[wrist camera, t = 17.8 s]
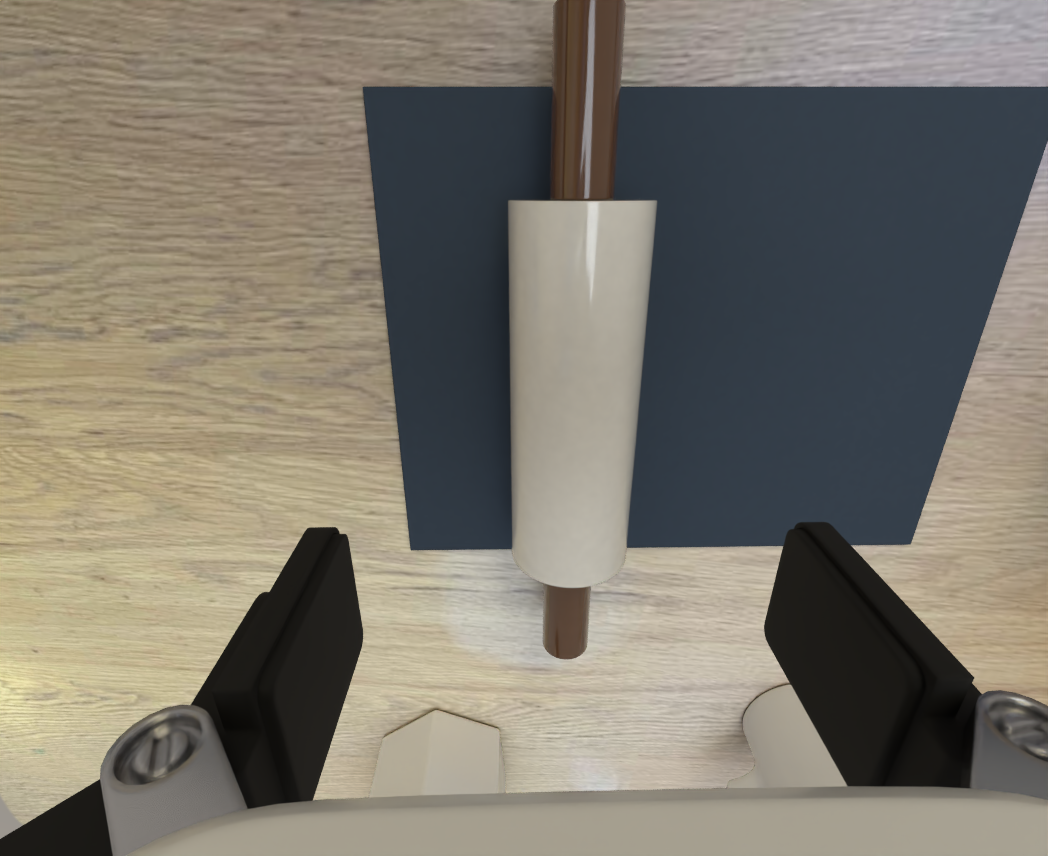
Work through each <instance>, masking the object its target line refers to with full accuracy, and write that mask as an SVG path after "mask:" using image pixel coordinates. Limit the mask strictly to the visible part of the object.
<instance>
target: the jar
mask: <svg viewBox="0 0 1048 856" xmlns="http://www.w3.org/2000/svg"><path fill="white" fill-rule="evenodd" d="M491 793H506V772H505V765H504V759H503V752H502V745H501V739H500V732H499V730H498V729H497V728H494V727H491V726H488V725H485V724H481V723H478V722H475V721H472V720H468V719H465V718H462V717H459V716H455V715H452V714H449V713H446V712H442V711H439V710H434V711H432V712H430V713H428V714H426V715H425V716H423V717H421V718H419V719H417V720H415V721H413V722H411V723H410V724H408V725H406V726H404V727H402V728H400V729H398V730H396V731H394V732H393V733H391V734H389V735H387V736H385V737H384V738H383V739H382V742H381V747H380V751H379V755H378V759H377V763H376V767H375V772H374V776H373V780H372V784H371V788H370V792H369V797H368V798H371V797H393V796H417V795H454V794H491Z"/></svg>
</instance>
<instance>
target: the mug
mask: <svg viewBox="0 0 1048 856" xmlns="http://www.w3.org/2000/svg"><path fill="white" fill-rule="evenodd" d="M743 731H744V734H745V736H746V739H747V742H748V744H749V747H750V749H751V752H752V754H753V757H754V760H755V766H754V768H753V769H752V770H751V771H750V772H749V773H748V774H746V775H744V776H742V777H740V778H736V779H732V780H730V781H729V782H728V784H727V788H776V787H842V786H847V785H846V783H845V781H844V779H843V777H842V776H841V774H840V772H839V770H838V768H837V767H836V765H835V763H834V761H833V759H832V758H831V756H830V754H829V752H828V750H827V749H826V747H825V745H824V743H823V741H822V740H821V738H820V736H819V734H818V732H817V731H816V729H815V727H814V725H813V723H812V722H811V720H810V718H809V716H808V714H807V713H806V711H805V709H804V707H803V705H802V704H801V702H800V700H799V698H798V696H797V695H796V693H795V691H794V689H793V687H792V686H791V685H785V686H781V687H777V688H774V689H772V690H770V691H768V692H766V693H764V694H762V695H761V696H759V697H758V698H757V699H755V700H754V701H753V702H752V703H751V704H750V706H749V707H748V708H747V710H746V712H745V714H744V717H743Z"/></svg>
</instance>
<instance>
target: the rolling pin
mask: <svg viewBox="0 0 1048 856" xmlns="http://www.w3.org/2000/svg"><path fill="white" fill-rule="evenodd" d="M625 7H626V4H625V1H624V0H557V1H556V2H555V3H554V5H553V41H552V102H551V163H550V199H515V200H508V281H509V361H510V441H511V521H512V555H513V559H514V561H515V563H516V564H517V566H518V567H519V568H520V569H521V570H522V571H523V572H524V573H525V574H526V575H528V576H530V577H531V578H533V579H535V580H537V581H539V582H542V583H544V591H543V645H544V647H545V649H546V651H547V652H548V653H549V654H551V655H552V656H554V657H556V658H560V659H573V658H576V657H578V656H580V655H581V654H583V652H584V651H585V650H586V648H587V641H588V624H589V608H590V591H591V586H594V585H597V584H600V583H603V582H605V581H607V580H609V579H611V578H612V577H614V576H615V575H616V574H617V573H618V572H619V571H620V570H621V569H622V567H623V565H624V563H625V559H626V550H627V539H628V527H629V516H630V505H631V494H632V483H633V472H634V461H635V450H636V438H637V427H638V416H639V405H640V394H641V383H642V372H643V361H644V349H645V338H646V327H647V316H648V305H649V294H650V283H651V272H652V260H653V249H654V238H655V227H656V216H657V205H658V200H651V199H614V191H615V174H616V157H617V141H618V124H619V107H620V91H621V74H622V57H623V41H624V24H625Z"/></svg>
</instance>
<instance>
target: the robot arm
mask: <svg viewBox="0 0 1048 856" xmlns="http://www.w3.org/2000/svg"><path fill="white" fill-rule="evenodd" d="M764 632H765V637H766V640H767V642H768V644H769V646H770V648H771V650H772V652H773V653H774V655H775V657H776V659H777V661H778V662H779V664H780V666H781V668H782V669H783V671H784V673H785V675H786V677H787V678H788V680H789V682H790V684H791V686H792V687H793V689H794V691H795V693H796V695H797V696H798V698H799V700H800V702H801V704H802V705H803V707H804V709H805V711H806V713H807V714H808V716H809V718H810V720H811V722H812V723H813V725H814V727H815V729H816V731H817V732H818V734H819V736H820V738H821V740H822V741H823V743H824V745H825V747H826V749H827V750H828V752H829V754H830V756H831V758H832V759H833V761H834V763H835V765H836V767H837V768H838V770H839V772H840V774H841V776H842V777H843V779H844V781H845V783H846V785H847V786H842V787H776V788H711V789H662V790H614V791H569V792H528V793H491V794H454V795H417V796H393V797H371V798H349V799H326V800H314V801H313V798H314V794H315V791H316V788H317V785H318V782H319V779H320V776H321V773H322V769H323V766H324V763H325V760H326V757H327V754H328V751H329V748H330V745H331V741H332V738H333V735H334V732H335V729H336V726H337V723H338V720H339V717H340V713H341V710H342V707H343V704H344V701H345V698H346V695H347V692H348V689H349V685H350V682H351V679H352V676H353V673H354V670H355V667H356V664H357V660H358V657H359V654H360V651H361V648H362V642H363V628H362V621H361V615H360V609H359V603H358V597H357V590H356V584H355V578H354V572H353V565H352V559H351V553H350V547H349V541H348V537H347V535H346V534H339V531H338V529H337V528H336V527H318V528H308V529H307V530H306V531H305V533H304V534H303V536H302V538H301V539H300V541H299V543H298V544H297V546H296V548H295V550H294V551H293V553H292V555H291V556H290V558H289V560H288V561H287V563H286V565H285V566H284V568H283V570H282V572H281V573H280V575H279V577H278V578H277V580H276V582H275V583H274V585H273V587H272V589H271V590H270V592H263V593H262V594H260V595H259V596H258V597H257V598H256V600H255V601H254V603H253V604H252V606H251V607H250V609H249V611H248V612H247V614H246V616H245V617H244V619H243V621H242V622H241V624H240V625H239V627H238V629H237V630H236V632H235V634H234V635H233V637H232V638H231V640H230V642H229V643H228V645H227V647H226V648H225V650H224V652H223V653H222V655H221V656H220V658H219V660H218V661H217V663H216V665H215V666H214V668H213V670H212V671H211V673H210V674H209V676H208V678H207V679H206V681H205V683H204V684H203V686H202V687H201V689H200V691H199V692H198V694H197V696H196V697H195V699H194V701H193V702H192V704H191V705H178V706H173V707H168V708H165V709H162V710H160V711H157V712H155V713H152V714H150V715H148V716H147V717H145V718H143V719H142V720H140V721H139V722H137V723H135V724H134V725H132V726H131V727H130V728H129V729H128V730H127V731H126V732H124V733H123V734H122V735H121V736H120V737H119V738H118V739H117V740H116V742H115V743H114V744H113V745H112V747H111V748H110V749H109V750H108V752H107V754H106V756H105V758H104V761H103V763H102V765H101V773H100V780H98V781H96V782H95V783H93V784H91V785H90V786H88V787H86V788H85V789H83V790H81V791H80V792H78V793H76V794H75V795H73V796H71V797H70V798H68V799H66V800H65V801H63V802H61V803H60V804H58V805H56V806H55V807H53V808H51V809H50V810H48V811H46V812H45V813H43V814H41V815H40V816H38V817H36V818H35V819H33V820H31V821H30V822H28V823H26V824H25V825H23V826H21V827H20V828H18V829H16V830H15V831H13V832H11V833H10V834H8V835H6V836H5V837H3V838H1V839H0V856H1048V706H1047V705H1045V704H1043V703H1041V702H1039V701H1036V700H1034V699H1032V698H1029V697H1026V696H1023V695H1020V694H1017V693H1013V692H1007V691H1001V690H998V691H988V692H986V693H984V694H981V693H980V692H979V690H978V689H977V688H976V687H975V686H974V685H973V684H972V682H973V679H974V677H973V676H972V675H971V674H970V673H969V672H968V671H967V669H966V668H965V667H964V666H963V665H962V664H961V663H960V662H959V661H958V660H957V659H956V658H955V657H954V656H953V654H952V653H951V652H950V651H949V650H948V649H947V648H946V647H945V646H944V645H943V644H942V643H941V642H940V641H939V639H938V638H937V637H936V636H935V635H934V634H933V633H932V632H931V631H930V630H929V629H928V628H927V627H926V626H925V624H924V623H923V622H922V621H921V620H920V619H919V618H918V617H917V616H916V615H915V614H914V613H913V612H912V611H911V609H910V608H909V607H908V606H907V605H906V604H905V603H904V602H903V601H902V600H901V599H900V598H899V597H898V596H897V594H896V593H895V592H894V591H893V590H892V589H891V588H890V587H889V586H888V585H887V584H886V583H885V582H884V581H883V579H882V578H881V577H880V576H879V575H878V574H877V573H876V572H875V571H874V570H873V569H872V568H871V567H870V566H869V564H868V563H867V562H866V561H865V560H864V559H863V558H862V557H861V556H860V555H859V554H858V553H857V552H856V551H855V550H854V548H853V547H852V546H851V545H850V544H849V543H848V542H847V541H846V540H845V539H844V538H843V537H842V536H841V535H840V533H839V532H838V531H837V530H836V529H835V528H834V527H833V526H832V525H831V524H830V523H828V522H799V523H797V524H796V525H795V527H794V529H790V530H789V531H788V532H787V534H786V538H785V542H784V546H783V550H782V554H781V558H780V562H779V566H778V570H777V575H776V579H775V583H774V587H773V591H772V595H771V599H770V603H769V607H768V612H767V616H766V620H765V625H764Z"/></svg>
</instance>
